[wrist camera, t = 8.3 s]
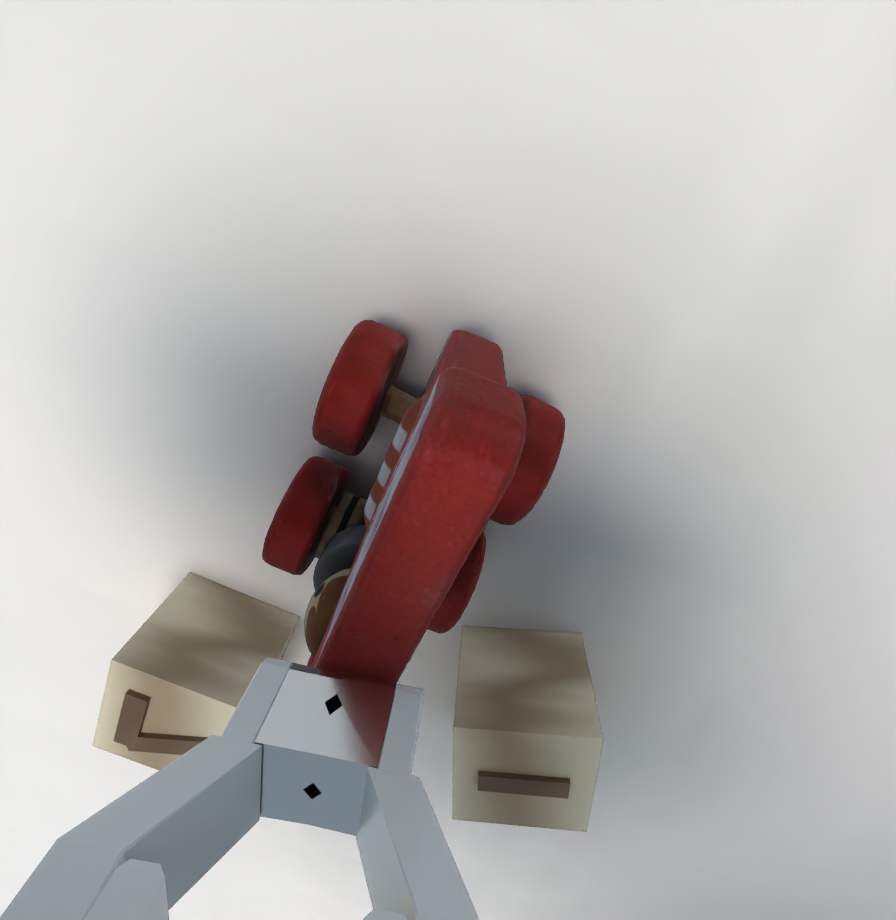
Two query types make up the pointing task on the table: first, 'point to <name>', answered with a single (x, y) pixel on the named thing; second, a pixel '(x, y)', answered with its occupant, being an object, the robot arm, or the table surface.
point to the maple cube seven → (187, 671)
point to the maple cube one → (524, 729)
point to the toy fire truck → (408, 497)
